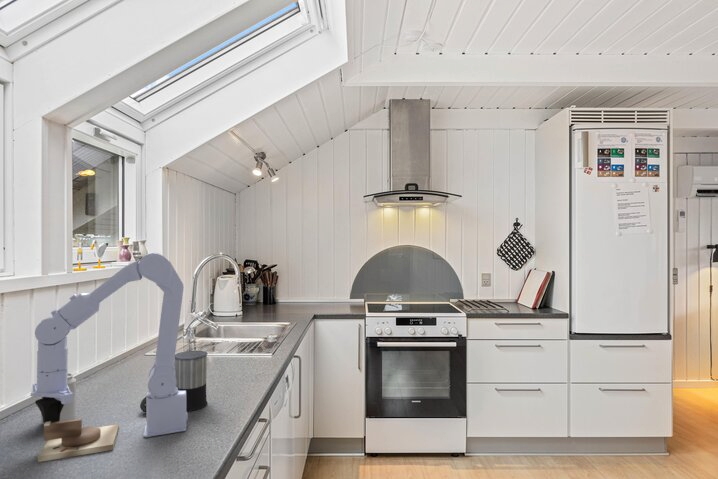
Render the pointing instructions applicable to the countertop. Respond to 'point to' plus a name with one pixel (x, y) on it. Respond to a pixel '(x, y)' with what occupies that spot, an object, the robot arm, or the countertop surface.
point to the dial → (71, 432)
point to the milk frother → (190, 378)
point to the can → (68, 408)
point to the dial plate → (58, 451)
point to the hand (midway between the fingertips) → (51, 429)
